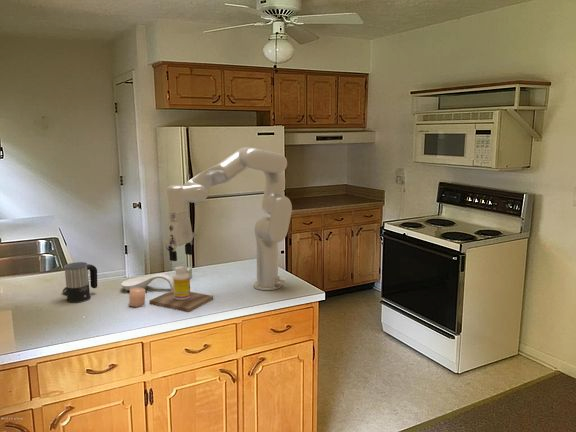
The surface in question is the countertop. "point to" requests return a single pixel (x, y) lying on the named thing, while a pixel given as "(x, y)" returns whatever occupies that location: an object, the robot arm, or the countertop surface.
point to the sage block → (189, 271)
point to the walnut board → (181, 301)
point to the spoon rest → (145, 281)
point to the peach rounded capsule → (137, 297)
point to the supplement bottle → (181, 283)
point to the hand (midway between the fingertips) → (181, 257)
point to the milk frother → (79, 281)
